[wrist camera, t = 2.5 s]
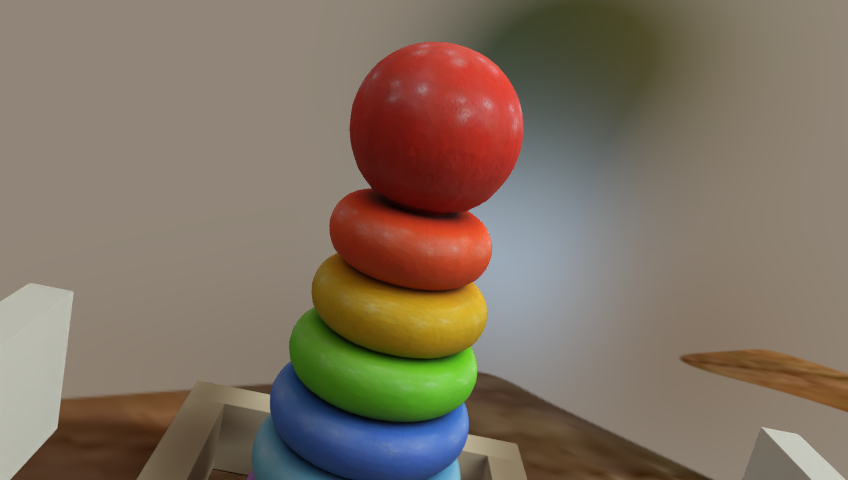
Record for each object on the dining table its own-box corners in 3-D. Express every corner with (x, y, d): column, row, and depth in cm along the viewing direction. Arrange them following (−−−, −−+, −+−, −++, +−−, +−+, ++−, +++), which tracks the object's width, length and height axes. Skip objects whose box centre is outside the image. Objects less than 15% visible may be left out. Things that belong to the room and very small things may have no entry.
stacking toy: (202, 516, 28) (295, 7, 24) (398, 509, 32) (512, 60, 27) (231, 693, 21) (370, 19, 17) (479, 661, 25) (650, 90, 20)
